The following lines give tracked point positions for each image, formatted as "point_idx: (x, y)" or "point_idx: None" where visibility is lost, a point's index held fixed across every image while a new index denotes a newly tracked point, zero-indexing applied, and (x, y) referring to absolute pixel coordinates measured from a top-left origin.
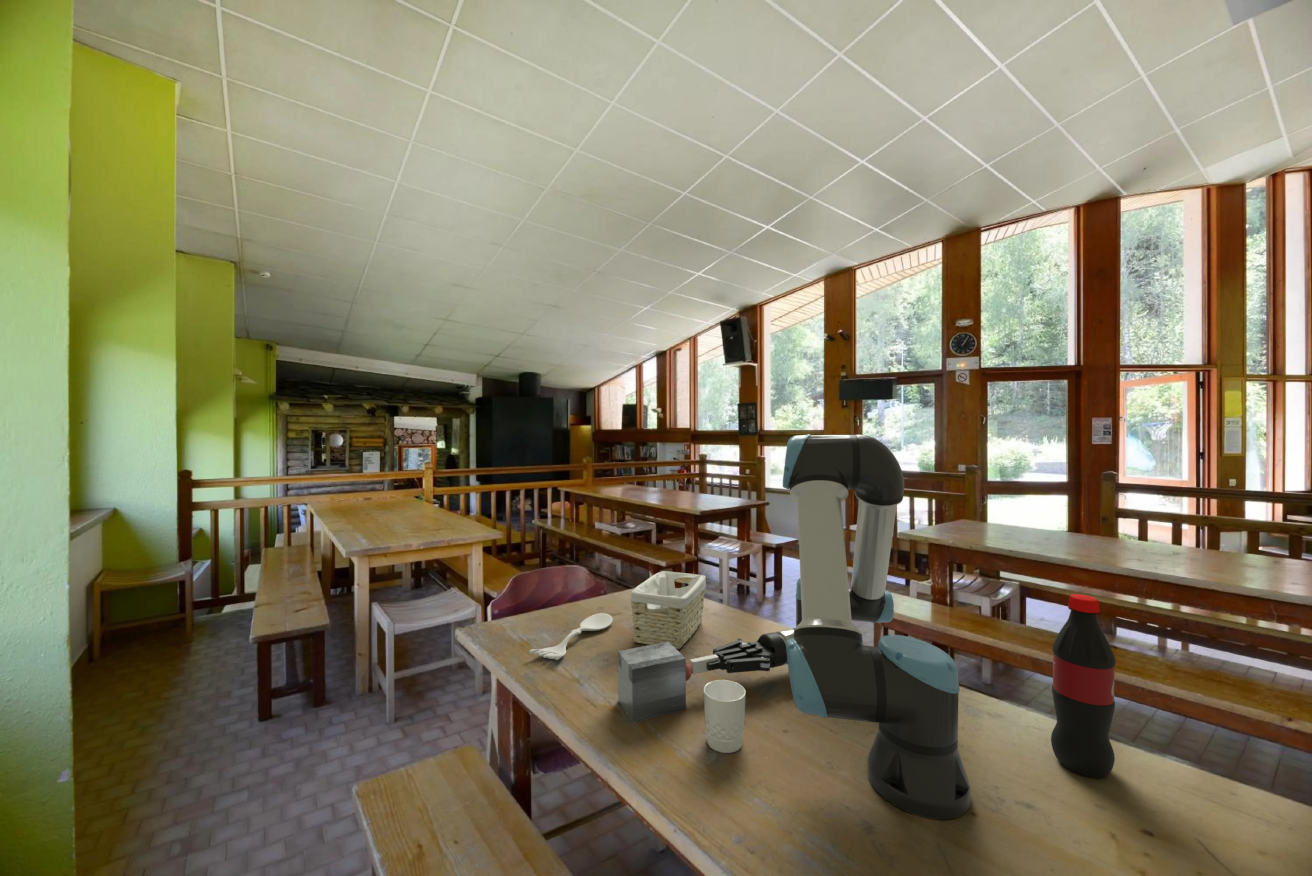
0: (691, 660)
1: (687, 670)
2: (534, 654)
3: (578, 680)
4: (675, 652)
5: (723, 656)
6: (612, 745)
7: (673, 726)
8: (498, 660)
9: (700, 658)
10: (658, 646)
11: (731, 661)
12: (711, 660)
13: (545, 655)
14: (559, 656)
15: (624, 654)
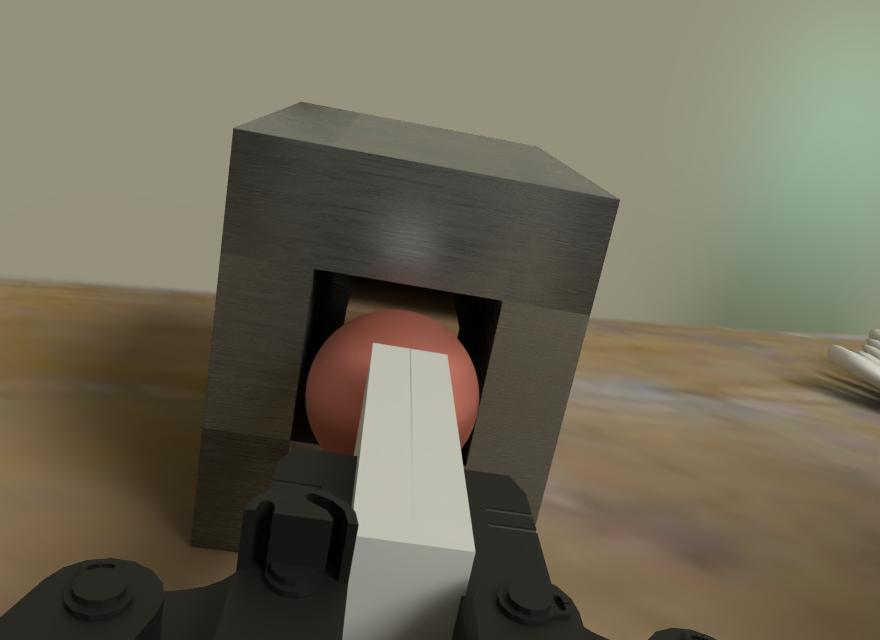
0: (419, 351)
1: (324, 348)
2: (868, 344)
3: (702, 395)
4: (382, 150)
5: (248, 511)
6: (180, 310)
7: (97, 440)
8: (855, 341)
9: (423, 398)
10: (541, 171)
11: (46, 616)
12: (354, 483)
13: (866, 354)
14: (854, 361)
15: (484, 137)
